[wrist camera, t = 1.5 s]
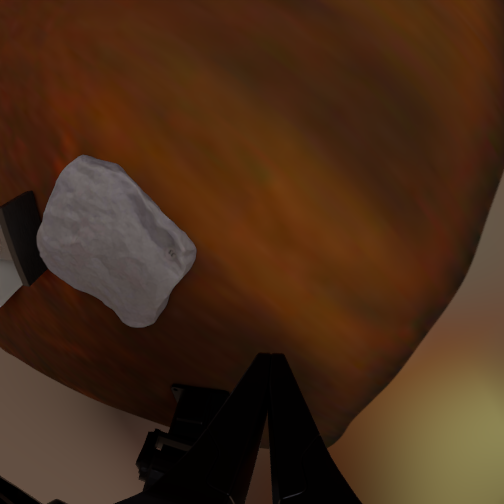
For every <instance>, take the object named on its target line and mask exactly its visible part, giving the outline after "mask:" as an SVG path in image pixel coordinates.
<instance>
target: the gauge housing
mask: <svg viewBox="0 0 504 504" xmlns="http://www.w3.org/2000/svg"><path fill="white" fill-rule="evenodd" d="M22 285H23V284H22V282H21V279H20V277H19V275H18V272H17V270H16V267H15V265H14V262H13V260H4V259H0V307H1V306H2V305H3V304H4V303H5V302H6V301H7V300H8V299H9V298H10V297H11V296H12V295H13V294H14V293H15V292H16V291H17V290H18V289H19V288H20V287H21V286H22Z"/></svg>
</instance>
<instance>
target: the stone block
mask: <svg viewBox="0 0 504 504" xmlns="http://www.w3.org/2000/svg"><path fill="white" fill-rule="evenodd" d="M37 247H38V249H39V251H40V257H41V258H42V259H43V261H44V262H45V264H46V266H47V267H48V269H49V270H50V271H51V272H52V273H54V274H55V275H57V276H58V277H59V278H60V279H62V280H64V281H65V282H66V283H67V284H69V285H71V286H72V287H74V288H75V289H78V290H80V291H83V292H86V293H89V294H91V295H93V296H95V297H96V298H98V299H100V300H101V301H102V302H103V303H104V304H105V305H106V306H108V307H109V308H111V309H113V310H114V311H115V312H116V314H117V315H118V317H119V318H120V319H121V321H122V322H123V323H125V324H126V325H128V326H130V327H146V326H149V325H151V324H153V323H155V322H156V320H157V318H158V316H159V315H160V314H161V312H162V311H163V310H164V309H165V307H166V305H167V303H168V300H169V295H170V293H171V291H172V290H173V288H174V286H175V285H176V284H177V283H178V282H179V281H180V280H181V279H182V278H183V276H184V275H185V274H186V273H187V272H188V271H189V270H190V268H191V266H192V265H193V263H194V261H195V258H196V251H197V250H196V247H195V245H194V244H193V242H192V241H191V240H190V239H189V238H188V236H187V235H186V233H185V232H183V231H182V230H180V229H179V228H178V227H177V226H176V224H175V223H174V222H173V221H171V220H170V219H169V218H168V217H167V216H166V215H164V214H163V213H162V211H161V210H160V208H159V206H157V205H156V204H155V202H154V201H152V199H151V198H150V197H149V196H148V195H147V194H146V193H144V192H143V191H142V189H141V188H140V187H139V186H138V184H137V183H136V182H134V181H133V180H132V179H131V178H130V177H129V176H128V175H127V174H126V172H125V171H124V169H123V168H122V167H120V166H119V165H118V164H115V163H111V162H107V161H103V160H99V159H95V158H93V157H90V156H88V155H81V156H79V157H78V158H77V159H75V160H74V161H73V162H71V163H70V164H69V165H67V166H66V167H65V169H64V170H63V171H62V172H61V174H60V175H59V178H58V179H57V181H56V185H55V187H54V189H53V192H52V194H51V196H50V198H49V201H48V203H47V206H46V209H45V211H44V214H43V221H42V223H41V225H40V228H39V230H38V233H37Z"/></svg>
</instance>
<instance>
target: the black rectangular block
mask: <svg viewBox="0 0 504 504" xmlns="http://www.w3.org/2000/svg"><path fill="white" fill-rule="evenodd" d="M40 225H41V222H40V219H39V215H38V211H37V207H36V204H35V200H34V195H33V191H27V192H24V193H23V194H21V195H19V196H17V197H16V198H14V199H12V200H10V201H9V202H7V203H5V204H4V205H2V206H0V259H4V260H13V262H14V265H15V267H16V270H17V272H18V275H19V277H20V279H21V282H22V284H23V285H24V286H29V287H30V286H31V285H32V284H33V283H34V282H35V281H36V280H37V279H38V278H39V277H40V276H41V275H42V274H43V273H44V272H45V271H46V270H47V269H48V267H47V266H46V264H45V262H44V261H43V259H42V258H41V257H40V251H39V249H38V247H37V233H38V230H39V228H40Z"/></svg>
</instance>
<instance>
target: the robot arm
mask: <svg viewBox="0 0 504 504" xmlns="http://www.w3.org/2000/svg"><path fill="white" fill-rule="evenodd" d="M171 390H172V392H173V394H174V397H175V399H176V401H177V403H178V404H177V407H176V410H175V413H174V417H173V420H172V423H171V426H170V430H169V432H168V433H165V432H162V431H160V430H159V429H155V431H154V432H148V435H147V438H146V441H145V443H144V445H143V448H142V450H141V452H140V454H139V457H138V459H137V461H136V466H137V467H138V469H139V474H140V475H139V480H141V481H144V482H145V485H144V488H143V491H142V492H141V493H139V494H137V495H135V496H132V497H130V498H128V499H125V500H122V501H120V502H117V503H115V504H245V500H246V497H247V494H248V490H249V486H250V482H251V479H252V475H253V470H254V467H255V463H256V459H257V455H258V451H259V447H260V443H261V439H262V434H263V430H264V426H265V422H266V417H267V411H268V428H269V446H270V464H271V481H272V500H273V504H362V503H361V501H360V500H359V499H358V497H357V496H356V495H355V493H354V492H353V490H352V489H351V487H350V486H349V484H348V483H347V481H346V480H345V478H344V477H343V475H342V474H341V472H340V471H339V470H338V468H337V466H336V464H335V463H334V461H333V459H332V458H331V456H330V454H329V452H328V450H327V448H326V446H325V444H324V442H323V439H322V437H321V436H319V435H320V433H319V431H318V429H317V426H316V424H315V422H314V420H313V418H312V415H311V413H310V411H309V409H308V406H307V404H306V402H305V400H304V397H303V395H302V393H301V391H300V388H299V386H298V384H297V382H296V379H295V377H294V375H293V373H292V370H291V368H290V366H289V364H288V361H287V359H286V357H285V355H284V354H283V353H272V354H270V353H262V352H260V353H258V354H257V355H256V357H255V359H254V360H253V362H252V363H251V365H250V366H249V368H248V369H247V371H246V372H245V374H244V375H243V377H242V378H241V379H240V381H239V382H238V384H237V385H236V387H235V388H234V390H233V391H232V393H231V394H229V392H227V391H220V390H211V389H203V388H196V387H189V386H182V385H176V384H173V385H172V387H171ZM157 447H158V448H161V451H160V450H158V449H156V448H157ZM0 504H42V503H41V502H39V501H38V500H36V499H35V498H33V497H32V496H30V495H29V494H27V493H26V492H24V491H23V490H21V489H20V488H18V487H17V486H15V485H14V484H12V483H11V482H9V481H7V480H6V479H4V478H3V477H1V476H0ZM47 504H67V503H65V502H63V501H61V500H59V499H55V500H53V501H51V502H49V503H47Z"/></svg>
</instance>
